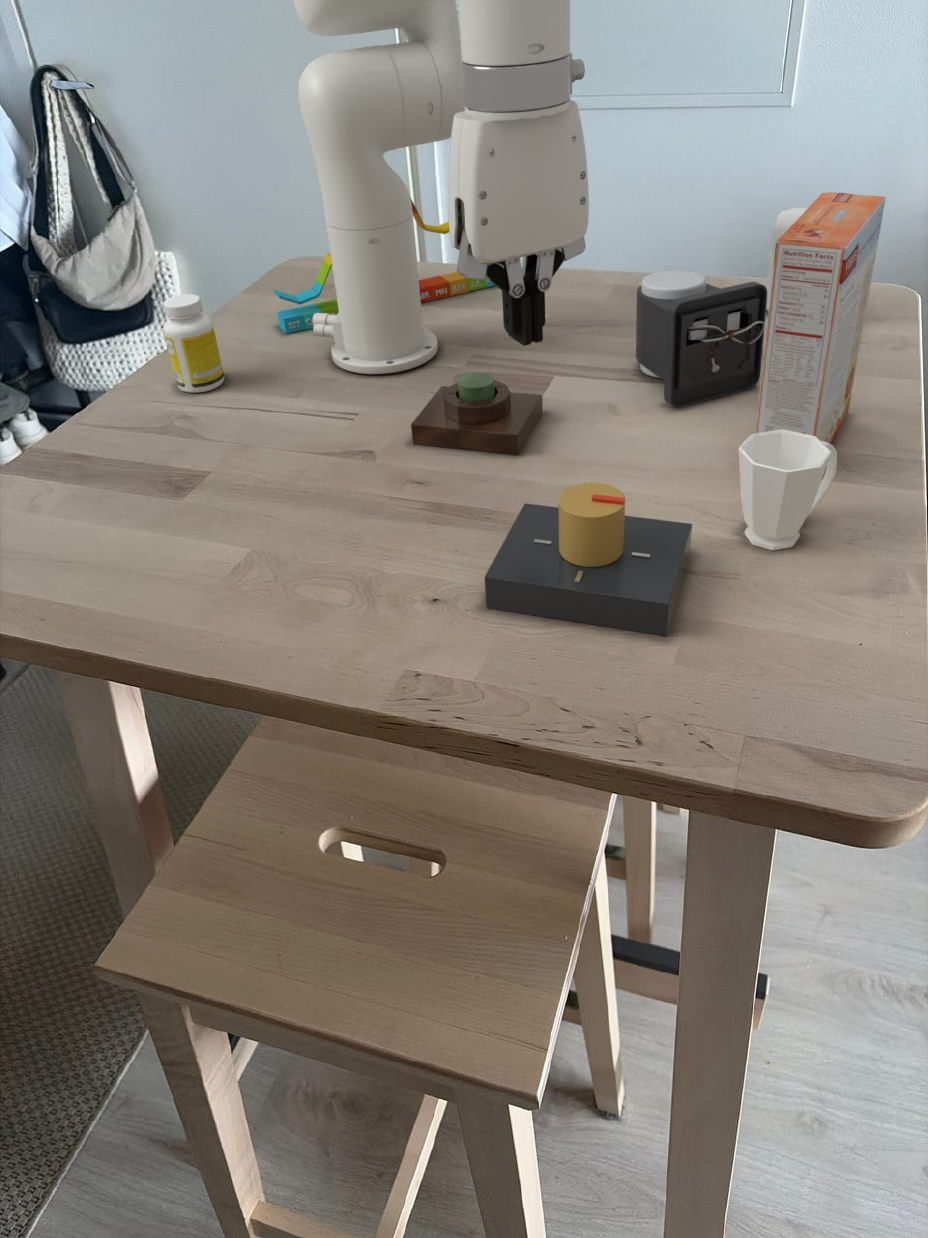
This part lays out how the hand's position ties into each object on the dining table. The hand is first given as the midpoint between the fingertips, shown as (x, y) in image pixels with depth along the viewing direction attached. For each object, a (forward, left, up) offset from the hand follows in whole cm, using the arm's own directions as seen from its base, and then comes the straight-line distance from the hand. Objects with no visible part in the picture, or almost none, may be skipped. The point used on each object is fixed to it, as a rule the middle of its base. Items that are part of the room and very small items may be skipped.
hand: (524, 338), depth 81 cm
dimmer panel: (+8, -11, -15) cm, 20 cm away
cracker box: (+22, +16, -15) cm, 31 cm away
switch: (-9, +12, -11) cm, 18 cm away
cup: (+22, 0, -15) cm, 27 cm away
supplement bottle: (-44, +16, -15) cm, 49 cm away
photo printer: (+20, +47, -15) cm, 53 cm away
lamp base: (-9, +12, -15) cm, 21 cm away
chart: (-31, +43, -15) cm, 55 cm away
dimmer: (+8, -11, -12) cm, 18 cm away
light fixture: (+9, +28, -15) cm, 33 cm away
